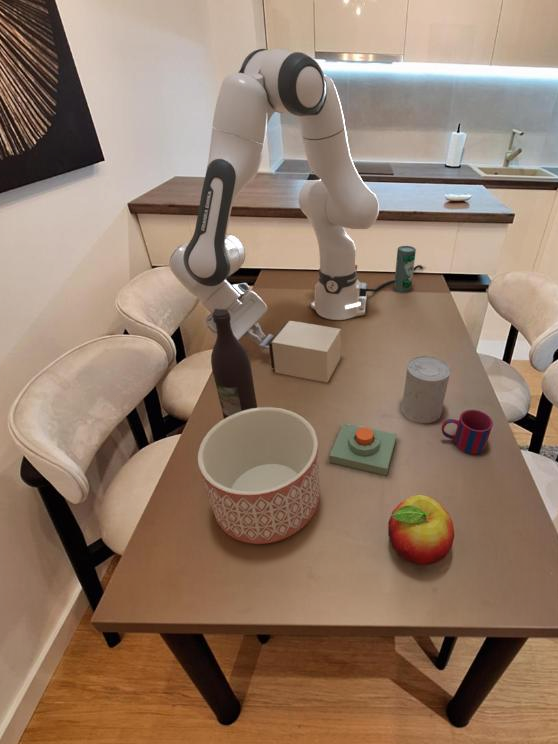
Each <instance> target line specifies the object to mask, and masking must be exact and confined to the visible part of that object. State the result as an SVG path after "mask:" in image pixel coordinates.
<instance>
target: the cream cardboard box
mask: <svg viewBox="0 0 558 744" xmlns="http://www.w3.org/2000/svg"><path fill="white" fill-rule="evenodd" d="M285 324H286V326H285V327H284V328H283V329H282V330H281V332H280V333H279V334H278V335H277V336H276V338H275V339H274V340H273V341H272V348H273V357H274V366H275V368H274V372H275V374H280V375H285V376H290V377H296V378H300V379H306V380H310V381H317V382H320V383H321V382H322V383H327V384H328V383H329V381H330V379H331V377H332V375H333V373H335V370H336V368H337V366H338V364H339V362H340V360H341V357H342V356H341V355H342V354H341V353H342V352H341V351H342V350H341V347H342V346H341V343H342V342H341V339H342V337H341V336H342V334H341V333H342V332H341V331H342V329H341V328H337V327H332V326H325V325H321V324H319V325H318V324H314V323H308V322H301V321H296V320H295V321H294V320H288V322H287V323H285Z"/></svg>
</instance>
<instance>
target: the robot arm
mask: <svg viewBox="0 0 558 744" xmlns="http://www.w3.org/2000/svg"><path fill="white" fill-rule="evenodd" d="M275 113H278V114H289V115H293V116H296V119H297V120H298V125H299V130H300V134H301V140H302V143H303V147H304V152H305V157H306V160H307V164H308V167H309V169H310V170H311V172H312V173H313V174H314V175H315V176H316V177H317V178H319V179H313V180H307V181H306V182H305V183H303V185H302V186H301V188H300V190H299V193H298V205H299V209H300V210H301V212H302V213H303V214H304V216H306V218H307V219H308V221H309V223H310V224H311V227H312V229H313V231H314V234H315V236H316V240H317V245H318V252H319V253H318V255H319V269H318V273H317V276H318V282H317V283H316V284H315V285H314V301H312V302H311V303H310V308H311V309H313V310H314V311H315V312H316V313H317V315H318V316H320V317H322V318H324V319H327V320H332V321H343V320H344V321H345V320H350V319H351V318H355V317H360V316H365V314H366V307H367V299H368V298H367V297H368V296H367V292H378V290H380V289H382V288H385V286H388V285H390V284H394V282H395V279H393V280H388V281H386V282H383V283H382V284H380V285H378V286H377V287H375V288H370V287H369V288H368V282H361V281H360V280H359V279H358V273H357V271H358V264H356V257H357V256H356V255H357V254H356V253H357V252H356V251H357V247H356V244H355V242H354V240H353V239H352V238H351V237H350V236H349V234H348V233H347V232H346V230H345V229H350V230H369V229H370V228H371V227H372V226H373V225H374V224H375V223H376V221H377V219H378V216H379V213H380V203H379V200H378V197H377V195H376V193H374V192H373V191H372V190H371V189H370V188H369V187H368V186H367V184H366V183H365V182H364V181H363V179H362V177H361V176H360V174H359V172H358V170H357V168H356V167H355V164H354V161H353V159H352V155H351V150H350V146H349V140H348V135H347V129H346V124H345V123H346V122H345V117H344V113H343V108H342V103H341V101H340V97H339V94H338V90H337V88H336V85H335V83H334V81H333V80H332V78H331V77H329V76H327V75H325V73H324V71H323V70H322V67H321V66H320V64H319V63H318V62H317V61H316V60H315V59H314V58H312V57H311V56H310V55H309V54H307V53H305V52H300V51H294V50H290V49H285V48H274V49H267V48H259V49H256V50H253V51H252V52H250V53H248V55H246V57H245V58H244V60H243V62H242V64H241V67H240V69H239V70H238V72H232V73H229V74H227V75H226V76H225V77H223V80H222V82H221V85H220V89H219V91H218V96H217V99H216V103H215V108H214V113H213V119H212V129H211V134H210V135H211V137H210V146H209V152H208V161H207V166H206V170H205V177H204V180H203V185H202V190H201V195H200V200H199V207H198V212H197V217H196V221H195V222H196V223H195V227H194V229H195V230H194V232H193V236H192V237H191V239H190V241H189V242H188V243H182V244H181V245H179V246H178V247H177V248H176V249H175V250H174V251H173V253H172V254H171V256H170V258H169V262H168V266H169V269H170V271H171V272H172V274H173V276H174V278H176V280H178V282H179V283H180V284H181V285H182V286H183V287H184V288H185V289H186V290H187V291H188V292H189V293H190V294H193V295H194V296H195V297H196V298H197V299H198V300H199V302H200V303H201V305H202V306H203V307H204V308H205V309H206V310H207V311H208V312H209V313H210V314H209V315H207V316H206V317H205V326H206V327H207V328H208V330H209V331H210V332H211V334H212V335H213V337H214V338H216V339H217V329H216V324H215V323H214V320H213V312H214V311H216V310H219V309H225V310H227V311H228V312H229V313H230V318H231V320H230V325H231V329H232V332H233V335H234V336H235V337H236V338H237V340H238V341H240V340H241V338H243V336H244V337H245V338H246V339H248V340H251V341H253V342H254V343H255V344H256V345H260V344H261V343H262V342H263V340H264V339H265V338H266V337H267V336H266V334H265V333H264V332H263V330H262V328H261V325H260V323H258V321H260V319H261V318H262V317H263V316H264V315H265V314H266V313H267V312H268V310H269V309H268V305H267V304H266V303H265V301H264V300H263V299H262V298H261V297H260V296H259V295H258V294H257V293H256V292H255V291H254V290H250V289H251V286H249V285H248V283H247V282H241V283H234V284H231V283H230V282H229V281H228V280H227V278H228V277H230V276H232V275H233V274H234V273H236V272H237V271H239V269H240V268H242V266H243V264H244V263H245V261H246V251H245V247H244V245H243V243H242V242H241V241H240V239H238V238H237V236H235V235H234V234H231V233H228V227H229V223H230V219H231V213H232V209H233V205H234V202H235V201H236V199H237V196H238V195H239V194H240V192H241V191H242V190H243V189H244V188H245V187H246V186H247V185H248V184H249V183H251V182H252V181H253V180H254V179H255V178H256V177H257V175H258V172H259V169H260V167H261V164H262V162H263V161H262V160H263V157H264V150H265V145H266V138H267V131H268V129H267V128H268V126H269V122H270V121H271V118H272V116H273V115H274V114H275ZM423 268H424V267H423V265H422V264H417V265H416V266H414V269H413V272H414V271H416V270H417V269H421V270H422V269H423ZM216 339H215V340H216Z"/></svg>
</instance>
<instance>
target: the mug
mask: <svg viewBox="0 0 558 744" xmlns="http://www.w3.org/2000/svg"><path fill="white" fill-rule="evenodd" d="M448 424H454V425H456V426H457V427H456V430H455V434H449V433H448V432H447V431H445V428H446V426H447V425H448ZM493 425H494V422H493V419H492V418H491V417H490V415H488V414H487V413H485V412H483V411H481V410H477V409H467V410H464V411H463V412H461V413H460V415H459V419H454V418H448V419H446V420H444V421H443V423H442V425H441V433H442V435H443V436H445V437H446V438H447V439H450V440H452V441H453V442H454V444H455V446H456V448H457V449H459V451H461V452H463V453H465V454H469V455H478V454H481V453H482V452H484V451H485V448H486V446H487V444H488V440H489V437H490V435H491V432H492V429H493Z"/></svg>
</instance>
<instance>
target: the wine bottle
mask: <svg viewBox="0 0 558 744" xmlns="http://www.w3.org/2000/svg"><path fill="white" fill-rule="evenodd" d="M213 320H214V323H215V324H216V329H217V339H215V342H214V345H213V348H212V351H211V355H210V364H211V365H210V366H211V370H212V374H213V379H214V383H215V388H216V392H217V396H218V401H219V404H220V409H221V414H222V418H223V419H225V418H227V417H229V416H231V415H233V414H235V413H238V412H241V411H244V410H248V409H253V408H258V402H257V396H256V391H255V384H254V383H255V382H254V378H253V372H252V366H251V365H252V364H251V361H250V357H249V354H248V352H247V350H246V348H245V347H244V345H243V343H242V342H241V341H240V340H237V338H236V337H235V336H234V335H233V332H232V329H231V325H230V320H231V318H230V313H229V312H228V311H227V310H225V309H219V310H216V311H214V312H213Z"/></svg>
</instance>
